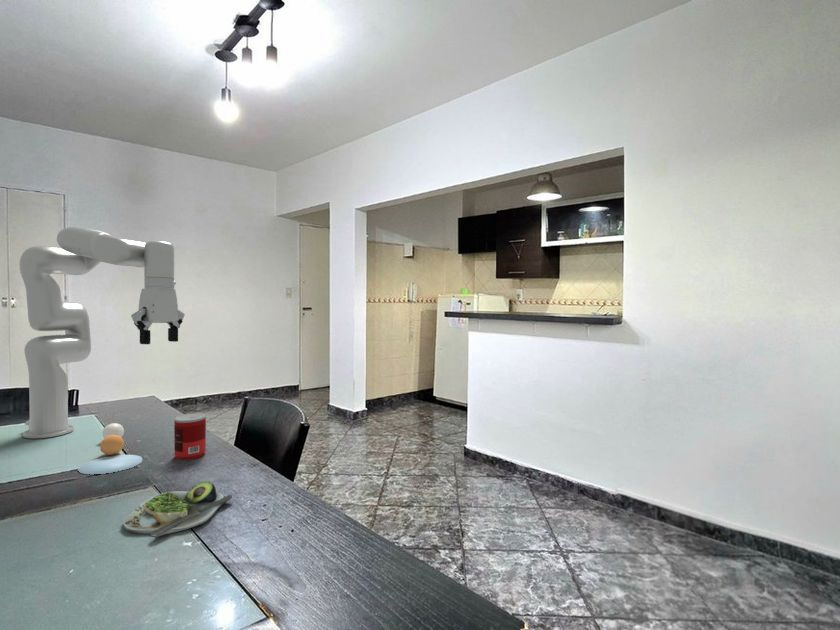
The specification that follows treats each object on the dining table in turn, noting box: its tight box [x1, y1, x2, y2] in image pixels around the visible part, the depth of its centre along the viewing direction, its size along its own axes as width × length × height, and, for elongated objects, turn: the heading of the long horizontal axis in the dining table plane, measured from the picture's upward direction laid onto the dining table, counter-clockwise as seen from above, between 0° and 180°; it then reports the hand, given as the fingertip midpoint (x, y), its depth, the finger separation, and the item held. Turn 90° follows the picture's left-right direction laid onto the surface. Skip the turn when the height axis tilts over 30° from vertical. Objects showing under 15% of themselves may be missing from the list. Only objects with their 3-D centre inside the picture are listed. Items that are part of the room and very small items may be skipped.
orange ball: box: [99, 435, 125, 456], centre depth 125 cm, size 6×6×6 cm
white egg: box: [101, 422, 125, 439], centre depth 136 cm, size 6×6×6 cm
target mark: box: [77, 454, 143, 476], centre depth 117 cm, size 14×14×1 cm
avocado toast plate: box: [121, 481, 233, 538], centre depth 90 cm, size 19×18×5 cm
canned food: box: [173, 412, 207, 461], centre depth 125 cm, size 8×8×11 cm
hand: (159, 342), depth 130 cm, fingers open, 9 cm apart
